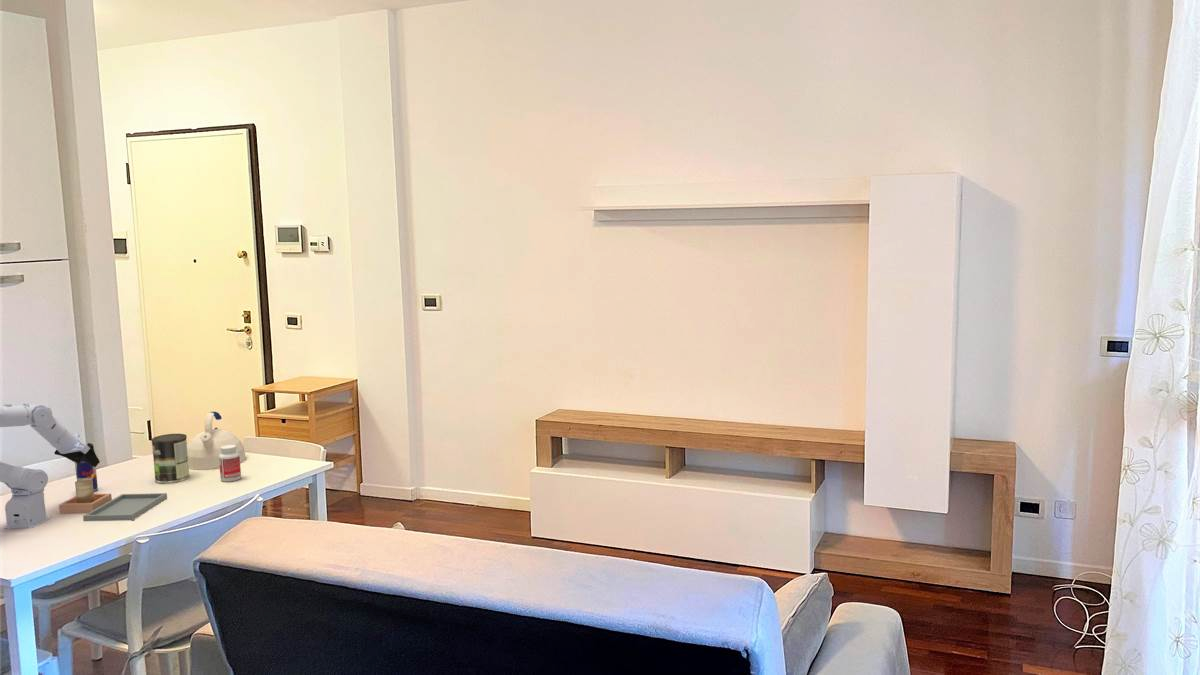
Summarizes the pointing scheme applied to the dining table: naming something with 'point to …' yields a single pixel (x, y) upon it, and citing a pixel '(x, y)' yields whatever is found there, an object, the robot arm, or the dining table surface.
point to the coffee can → (170, 458)
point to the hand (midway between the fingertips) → (88, 462)
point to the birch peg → (84, 491)
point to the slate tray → (125, 507)
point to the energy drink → (86, 473)
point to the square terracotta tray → (84, 504)
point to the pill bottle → (229, 464)
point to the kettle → (211, 446)
